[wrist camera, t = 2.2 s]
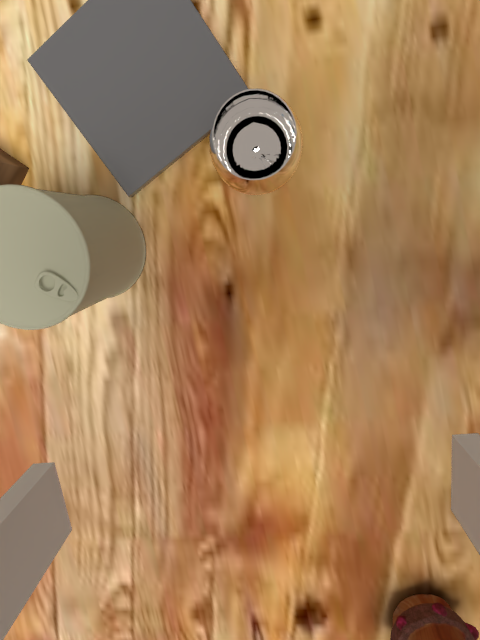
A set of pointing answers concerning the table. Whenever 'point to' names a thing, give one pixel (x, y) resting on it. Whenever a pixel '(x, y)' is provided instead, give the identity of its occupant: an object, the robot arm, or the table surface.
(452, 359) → the table surface
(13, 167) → the walnut block
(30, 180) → the table surface
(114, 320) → the table surface
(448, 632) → the mug
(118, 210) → the can
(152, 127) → the coaster
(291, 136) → the wineglass
